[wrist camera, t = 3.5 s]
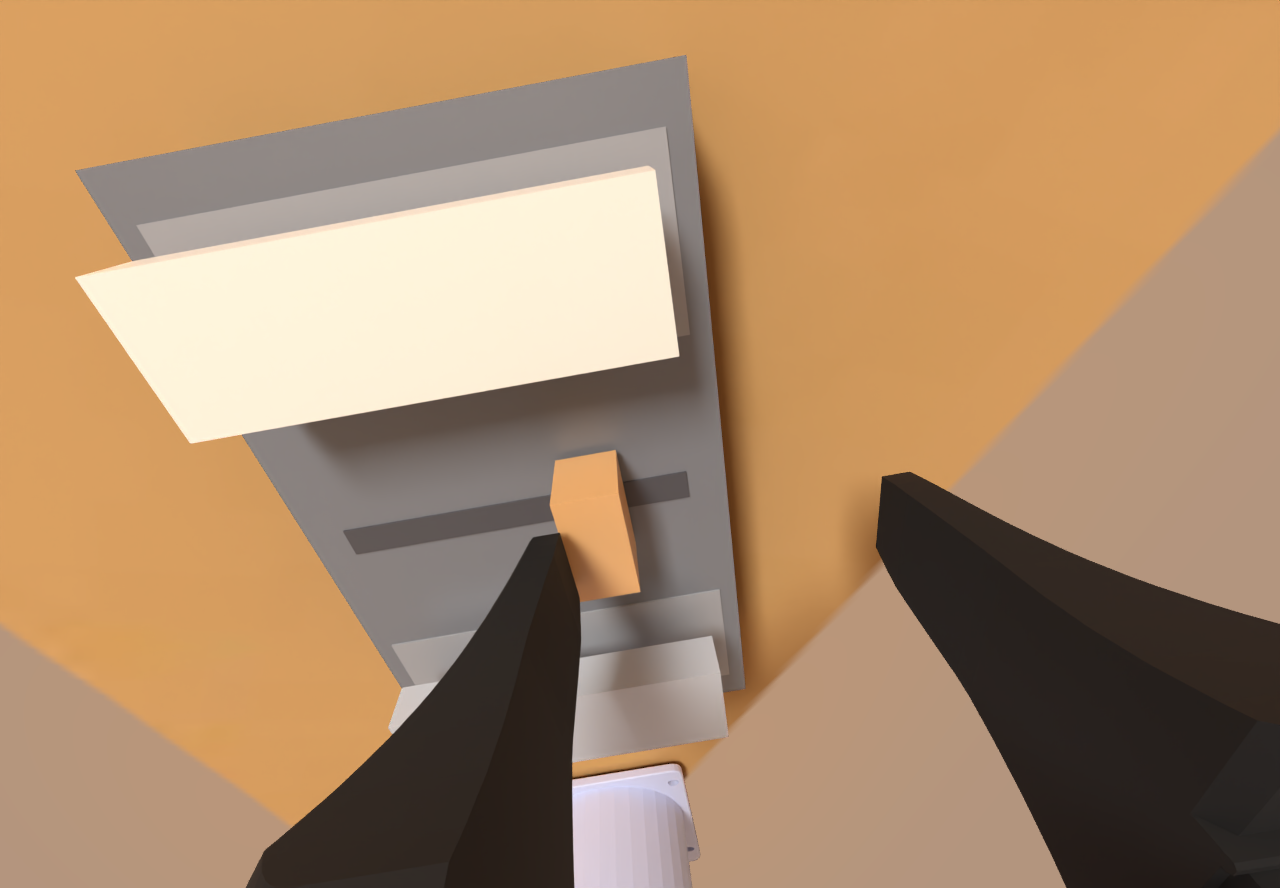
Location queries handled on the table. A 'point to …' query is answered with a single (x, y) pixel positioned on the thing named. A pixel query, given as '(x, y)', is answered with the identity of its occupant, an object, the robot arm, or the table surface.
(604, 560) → the orange rectangular block
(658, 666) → the grey bar
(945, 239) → the table surface
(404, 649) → the panel
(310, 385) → the cream bar
